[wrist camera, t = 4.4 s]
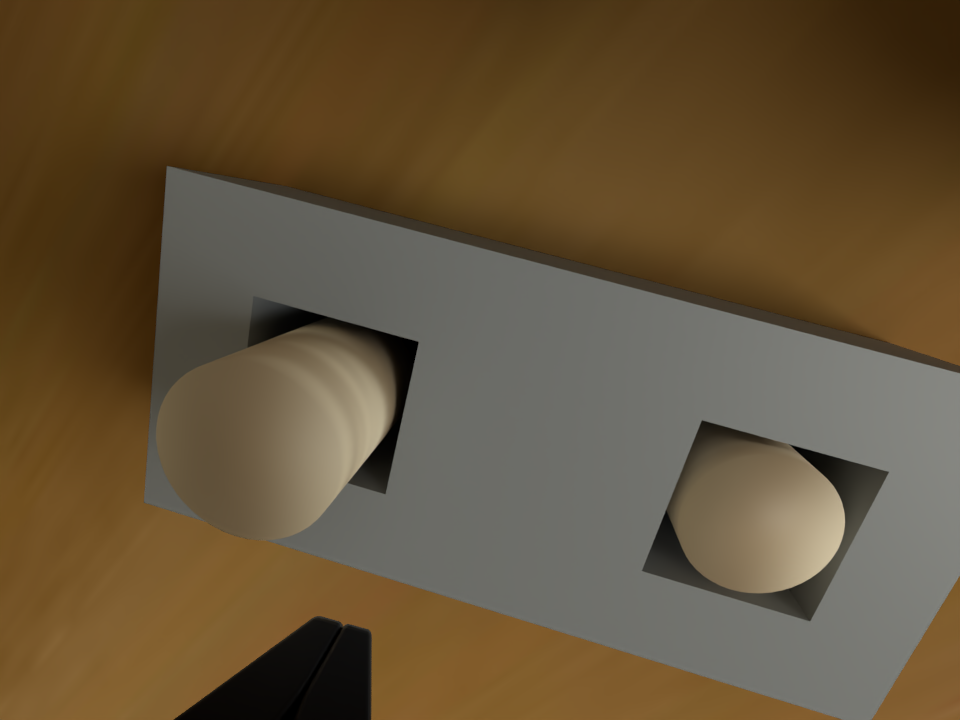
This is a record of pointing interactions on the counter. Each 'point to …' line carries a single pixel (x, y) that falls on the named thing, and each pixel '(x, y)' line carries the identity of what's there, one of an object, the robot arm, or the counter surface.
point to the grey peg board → (582, 436)
